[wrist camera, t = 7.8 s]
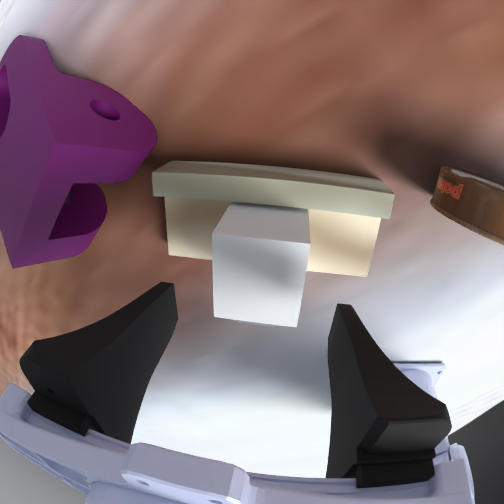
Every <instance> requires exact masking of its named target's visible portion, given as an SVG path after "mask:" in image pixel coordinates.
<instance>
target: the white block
mask: <svg viewBox="0 0 504 504" xmlns="http://www.w3.org/2000/svg"><path fill="white" fill-rule="evenodd" d="M309 251H310V226H309V210H308V209H305V208H296V207H286V206H276V205H266V204H255V203H244V202H231V204H230V205H229V207H228V208H227V210H226V212H225V213H224V215H223V217H222V218H221V220H220V221H219V223H218V225H217V226H216V228H215V230H214V231H213V233H212V256H213V299H214V317H219V318H226V319H233V320H235V322H238V323H245V324H253V325H261V326H269V327H277V325H280V326H289V327H297V322H298V317H299V311H300V306H301V300H302V294H303V288H304V282H305V276H306V270H307V264H308V257H309Z"/></svg>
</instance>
